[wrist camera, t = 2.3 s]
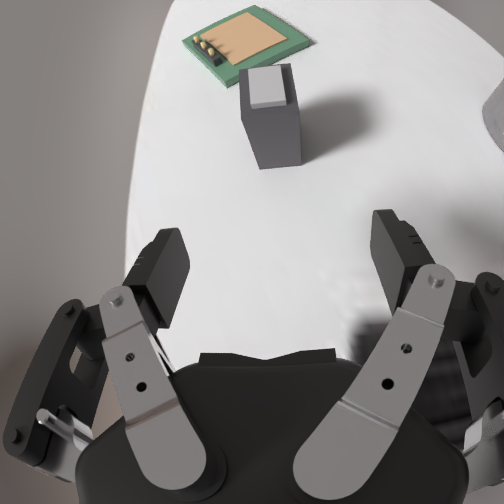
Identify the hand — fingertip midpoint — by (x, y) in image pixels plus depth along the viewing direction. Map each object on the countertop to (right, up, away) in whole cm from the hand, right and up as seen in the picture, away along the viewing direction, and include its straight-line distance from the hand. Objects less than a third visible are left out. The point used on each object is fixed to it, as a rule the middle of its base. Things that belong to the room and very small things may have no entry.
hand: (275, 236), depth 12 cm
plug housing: (+2, +10, +16) cm, 19 cm away
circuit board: (-2, +26, +19) cm, 32 cm away
